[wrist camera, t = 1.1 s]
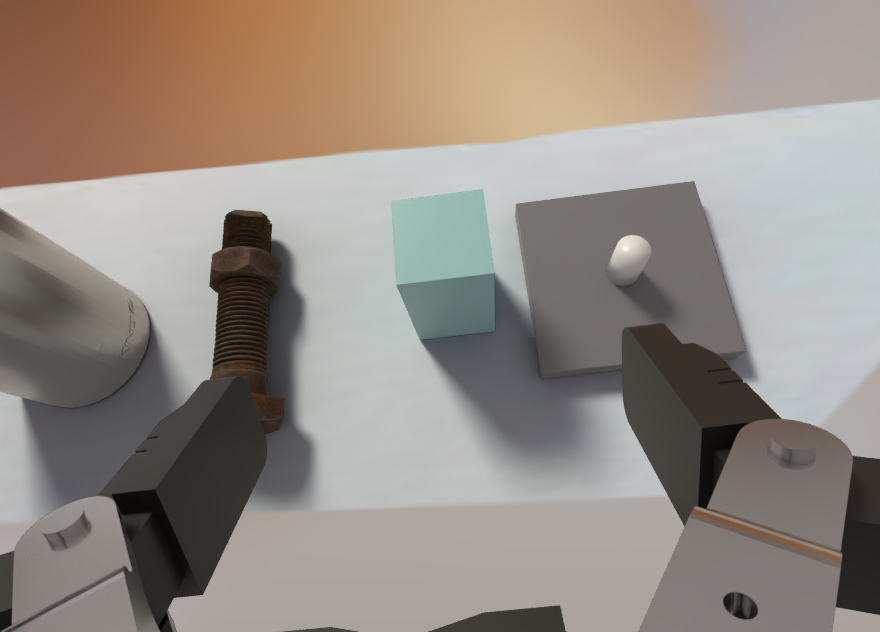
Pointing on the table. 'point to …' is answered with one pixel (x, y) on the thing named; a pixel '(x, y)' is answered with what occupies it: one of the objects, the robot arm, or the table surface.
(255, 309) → the bolt
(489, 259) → the block
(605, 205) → the base plate
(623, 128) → the table surface
